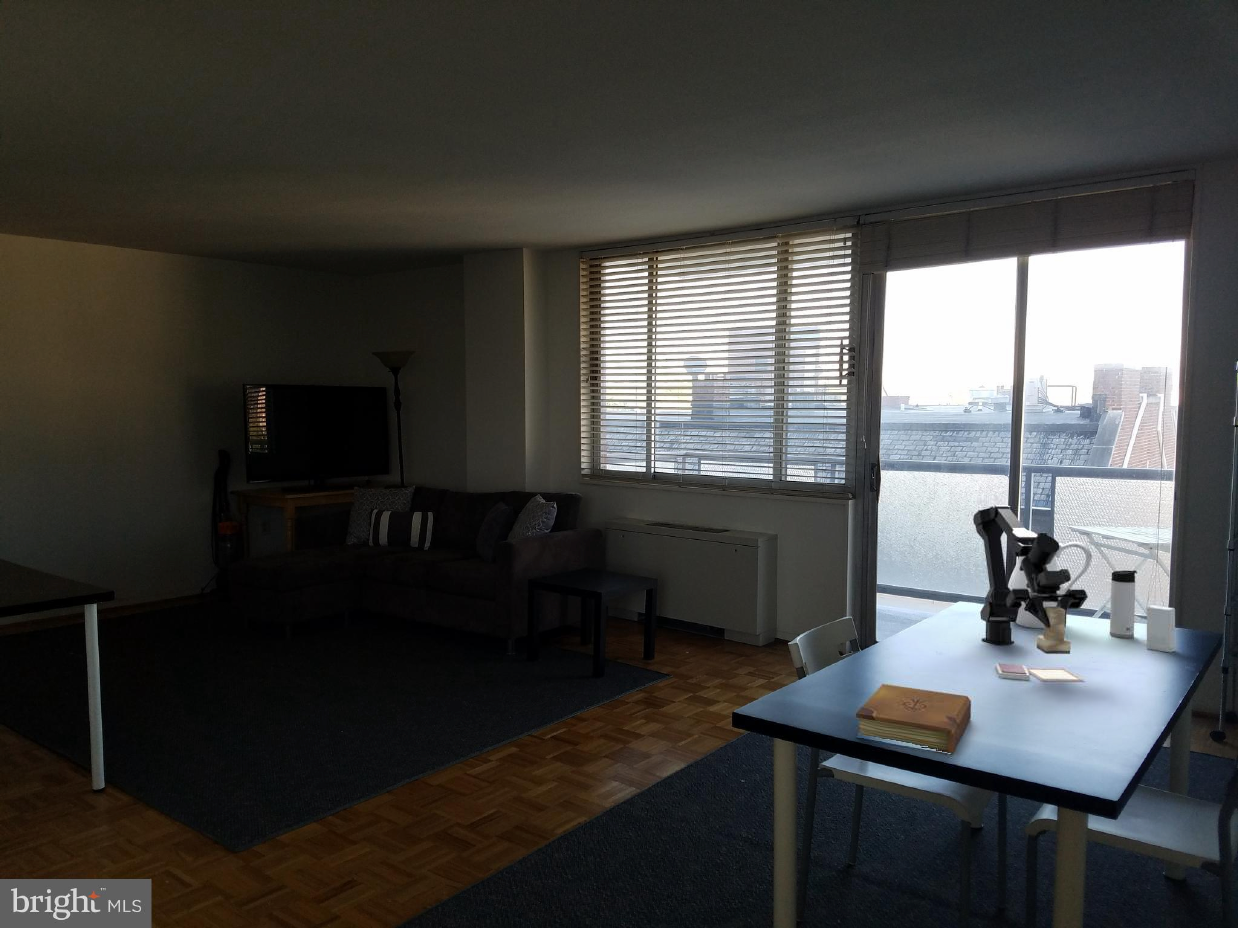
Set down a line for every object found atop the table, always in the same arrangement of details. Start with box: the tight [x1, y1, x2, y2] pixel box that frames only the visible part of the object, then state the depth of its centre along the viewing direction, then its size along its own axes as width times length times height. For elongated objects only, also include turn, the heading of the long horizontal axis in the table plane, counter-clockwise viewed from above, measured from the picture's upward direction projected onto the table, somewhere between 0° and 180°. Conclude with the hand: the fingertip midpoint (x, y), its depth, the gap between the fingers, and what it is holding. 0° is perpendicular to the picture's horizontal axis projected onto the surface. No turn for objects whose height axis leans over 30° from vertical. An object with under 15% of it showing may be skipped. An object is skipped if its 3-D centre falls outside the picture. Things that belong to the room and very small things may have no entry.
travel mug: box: [1109, 569, 1138, 639], centre depth 261 cm, size 6×7×20 cm
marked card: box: [1026, 667, 1086, 682], centre depth 221 cm, size 10×10×1 cm
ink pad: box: [994, 663, 1031, 681], centre depth 222 cm, size 9×7×2 cm
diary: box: [855, 683, 972, 755], centre depth 182 cm, size 23×19×6 cm
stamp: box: [1036, 607, 1071, 655], centre depth 220 cm, size 6×5×11 cm
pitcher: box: [1007, 541, 1093, 629], centre depth 273 cm, size 24×17×28 cm
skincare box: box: [1146, 605, 1176, 653], centre depth 245 cm, size 6×4×12 cm
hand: (1056, 626), depth 219 cm, fingers closed on stamp, 3 cm apart
